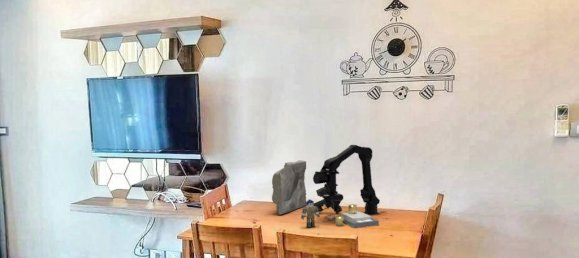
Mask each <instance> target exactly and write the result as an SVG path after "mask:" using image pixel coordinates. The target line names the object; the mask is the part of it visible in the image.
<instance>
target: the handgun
mask: <svg viewBox="0 0 579 258" xmlns="http://www.w3.org/2000/svg"><path fill="white" fill-rule="evenodd" d="M313 206H316V207H318V212H319V213H320V212H322V213H323V211H324V210H328V209H327V206H326V203H325V200H324V198H322V199H321V200H318V201H315V202H314V205H313ZM324 206H325V208H322V207H324ZM329 208H331V209H332V210H333V211H334V208H333V202H332V201H331V203H330V207H329ZM342 211H343V208H342V206H341V205H340V204H339V206H338V209H337V211H336V212H335V214H336V215H338V214H339V213H341V212H342ZM314 213H315V211H314Z"/></svg>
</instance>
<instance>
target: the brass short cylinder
mask: <svg viewBox="0 0 579 258" xmlns="http://www.w3.org/2000/svg"><path fill="white" fill-rule="evenodd" d="M348 212H349V214H357V212H358V209H357V204H348Z"/></svg>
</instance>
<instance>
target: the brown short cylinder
mask: <svg viewBox="0 0 579 258" xmlns="http://www.w3.org/2000/svg"><path fill="white" fill-rule="evenodd" d="M327 221H328V222H336V214H334V213H331V214H327Z"/></svg>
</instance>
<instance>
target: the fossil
mask: <svg viewBox="0 0 579 258" xmlns="http://www.w3.org/2000/svg"><path fill="white" fill-rule="evenodd" d="M306 170H307V161H306V160H300V159H299V160H297V161H289V162H285V163H284V166H283V167H282V168H281V169H280V170H278V171H276V172H274V174H273V175H272V181H271V185H272V191H273V192H272V194H271V195H272V197H271V200H272V203H274V204H275V205H276V206H275V209H276V214H277V215H284V214H286V213H289V212H293V211H294V210H298V209H300V208H304V207H307V192H306V191H307V190H306V185H305V182H306V181H305V179H306V178H305V177H306V175H305V174H306V173H305V172H306Z"/></svg>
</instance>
